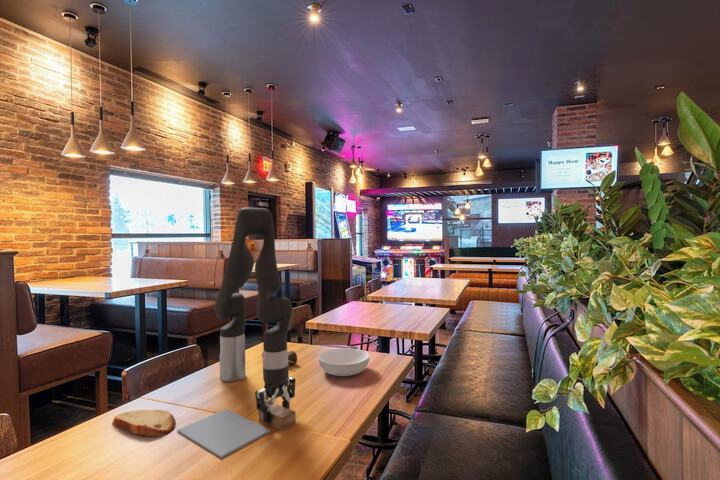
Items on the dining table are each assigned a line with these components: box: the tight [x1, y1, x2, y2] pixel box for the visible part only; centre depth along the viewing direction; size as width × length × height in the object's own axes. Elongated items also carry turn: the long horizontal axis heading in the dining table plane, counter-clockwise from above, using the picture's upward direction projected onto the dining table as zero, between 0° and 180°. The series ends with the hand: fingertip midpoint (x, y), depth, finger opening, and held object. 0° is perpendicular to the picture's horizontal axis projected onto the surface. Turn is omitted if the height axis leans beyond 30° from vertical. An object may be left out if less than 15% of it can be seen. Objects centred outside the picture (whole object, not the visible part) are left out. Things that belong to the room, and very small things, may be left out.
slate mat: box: [176, 408, 271, 459], centre depth 112 cm, size 22×16×1 cm
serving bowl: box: [318, 347, 370, 377], centre depth 157 cm, size 21×21×7 cm
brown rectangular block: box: [258, 402, 297, 432], centre depth 118 cm, size 11×5×4 cm, turn 53°
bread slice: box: [111, 409, 176, 438], centre depth 116 cm, size 18×18×4 cm
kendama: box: [261, 350, 298, 365], centre depth 167 cm, size 6×10×20 cm
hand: (276, 417), depth 118 cm, fingers open, 6 cm apart
